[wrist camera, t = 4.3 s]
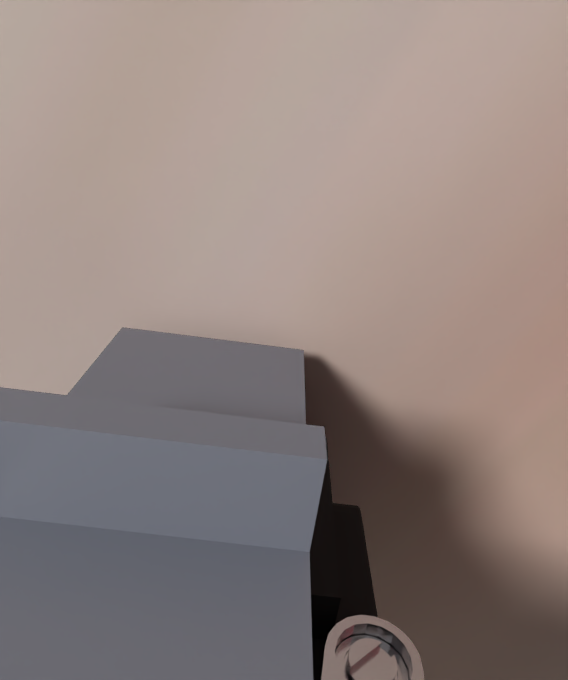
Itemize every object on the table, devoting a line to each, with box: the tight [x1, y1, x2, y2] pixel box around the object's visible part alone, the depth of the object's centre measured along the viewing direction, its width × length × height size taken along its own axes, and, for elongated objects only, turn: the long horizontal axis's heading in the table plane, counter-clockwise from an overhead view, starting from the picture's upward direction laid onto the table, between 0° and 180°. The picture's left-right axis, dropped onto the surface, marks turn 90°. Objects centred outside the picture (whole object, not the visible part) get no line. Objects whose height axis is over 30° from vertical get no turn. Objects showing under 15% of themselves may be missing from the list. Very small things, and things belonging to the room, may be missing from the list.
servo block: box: [0, 327, 327, 680], centre depth 8 cm, size 8×4×8 cm, turn 173°
